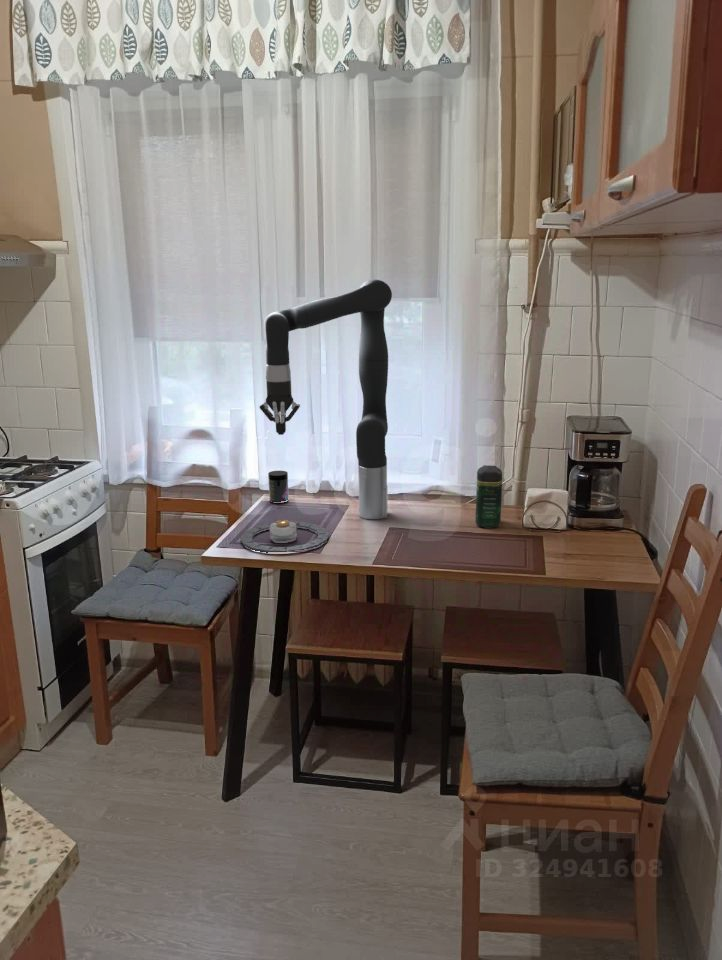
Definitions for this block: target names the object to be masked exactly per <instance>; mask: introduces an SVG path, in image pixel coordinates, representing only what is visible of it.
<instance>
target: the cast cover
mask: <svg viewBox="0 0 722 960" xmlns="http://www.w3.org/2000/svg"><path fill="white" fill-rule="evenodd" d="M294 522H295V521H290V520H288V519H278V520H276V522H271V523H272V524H271V525H270V530H269V536H270V537H269V539H270V538H271V539H272V540H276V541H287V540H291V539H294V538H295V537H297V538H298V534H297V533H298V532H297V528H296V524H295V523H294Z"/></svg>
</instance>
